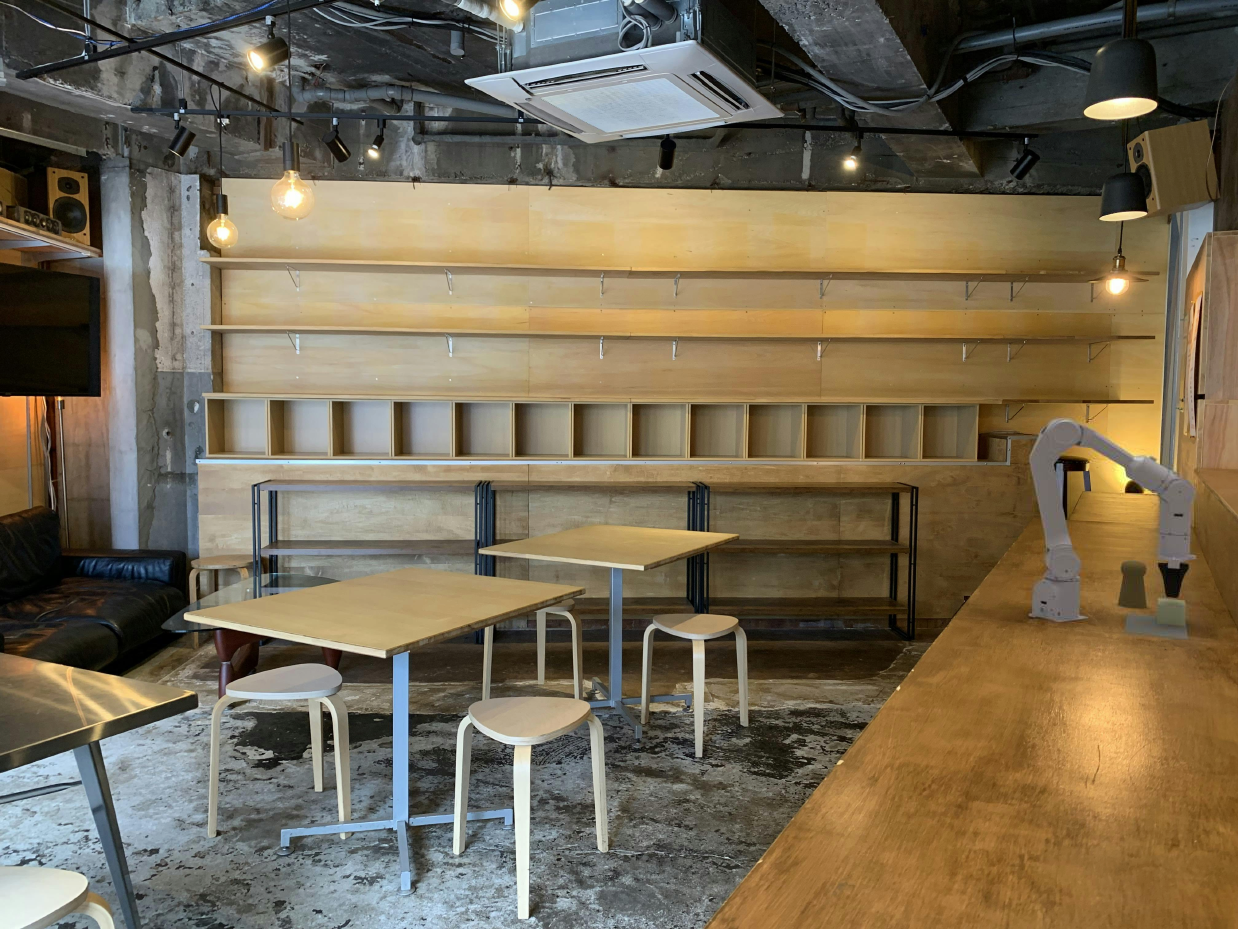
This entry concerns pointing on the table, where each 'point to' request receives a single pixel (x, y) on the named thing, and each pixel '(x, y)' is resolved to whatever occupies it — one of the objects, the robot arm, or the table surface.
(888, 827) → the table surface
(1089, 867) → the table surface
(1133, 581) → the cork
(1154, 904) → the table surface
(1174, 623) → the block
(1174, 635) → the mat
